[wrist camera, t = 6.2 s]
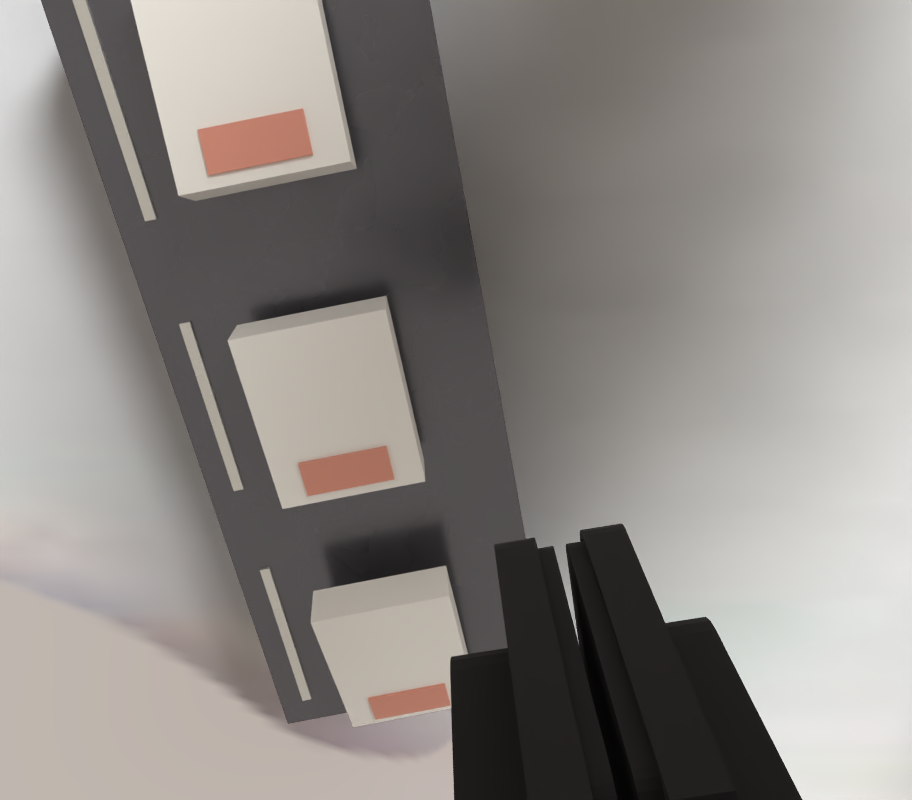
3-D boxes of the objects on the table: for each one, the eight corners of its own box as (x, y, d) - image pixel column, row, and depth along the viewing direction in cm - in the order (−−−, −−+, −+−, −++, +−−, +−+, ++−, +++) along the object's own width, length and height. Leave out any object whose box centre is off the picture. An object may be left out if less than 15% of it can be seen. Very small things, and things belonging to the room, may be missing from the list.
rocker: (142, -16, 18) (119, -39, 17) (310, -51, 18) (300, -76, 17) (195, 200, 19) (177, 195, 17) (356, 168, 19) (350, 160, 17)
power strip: (10, -274, 20) (-110, -389, 15) (359, -347, 19) (345, -485, 15) (303, 646, 30) (284, 742, 25) (532, 602, 30) (553, 692, 25)
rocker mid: (237, 325, 20) (226, 341, 19) (386, 295, 20) (385, 310, 19) (288, 486, 22) (282, 510, 21) (424, 460, 22) (425, 483, 21)
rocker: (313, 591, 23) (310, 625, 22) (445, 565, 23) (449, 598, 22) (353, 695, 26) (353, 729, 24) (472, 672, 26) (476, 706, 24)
